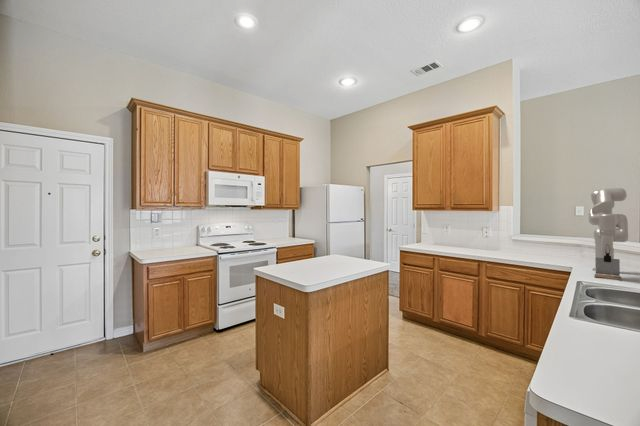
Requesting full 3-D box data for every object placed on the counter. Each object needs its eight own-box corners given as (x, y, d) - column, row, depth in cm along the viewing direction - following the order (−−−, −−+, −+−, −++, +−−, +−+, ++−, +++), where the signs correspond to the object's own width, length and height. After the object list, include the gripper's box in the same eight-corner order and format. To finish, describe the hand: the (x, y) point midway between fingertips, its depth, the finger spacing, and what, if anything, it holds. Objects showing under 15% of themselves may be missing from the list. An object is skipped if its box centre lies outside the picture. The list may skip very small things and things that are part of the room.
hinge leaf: (595, 257, 190) (595, 257, 189) (619, 259, 182) (619, 259, 181) (595, 276, 190) (595, 276, 188) (619, 278, 182) (619, 279, 181)
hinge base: (594, 276, 190) (594, 273, 190) (620, 278, 182) (620, 276, 182) (594, 278, 181) (594, 276, 181) (621, 282, 172) (621, 279, 172)
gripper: (599, 232, 189) (599, 260, 189) (599, 233, 179) (599, 262, 178) (615, 233, 184) (615, 261, 184) (616, 234, 173) (616, 264, 173)
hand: (607, 261), depth 181 cm, fingers closed
